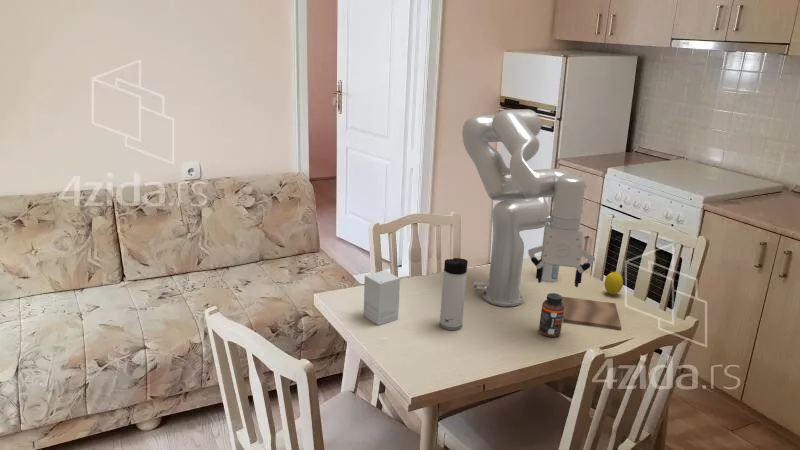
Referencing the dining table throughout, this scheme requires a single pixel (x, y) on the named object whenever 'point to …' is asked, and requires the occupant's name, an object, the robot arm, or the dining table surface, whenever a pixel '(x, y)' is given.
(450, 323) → the travel mug
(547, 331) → the supplement bottle
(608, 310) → the walnut board
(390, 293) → the supplement box
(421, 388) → the dining table surface
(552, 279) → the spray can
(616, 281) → the lemon
